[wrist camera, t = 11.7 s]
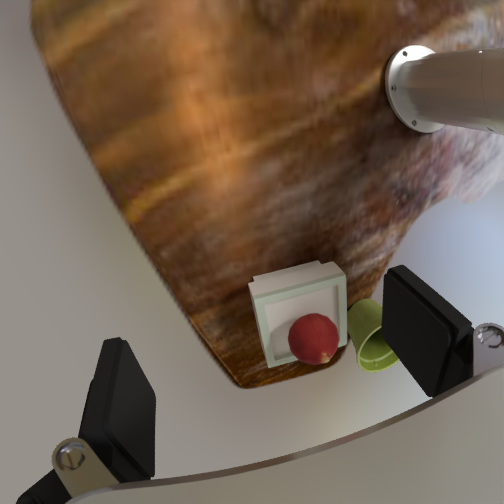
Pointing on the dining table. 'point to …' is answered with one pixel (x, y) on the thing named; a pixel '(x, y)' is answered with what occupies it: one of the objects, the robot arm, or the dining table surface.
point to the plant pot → (369, 336)
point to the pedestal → (296, 304)
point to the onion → (313, 339)
